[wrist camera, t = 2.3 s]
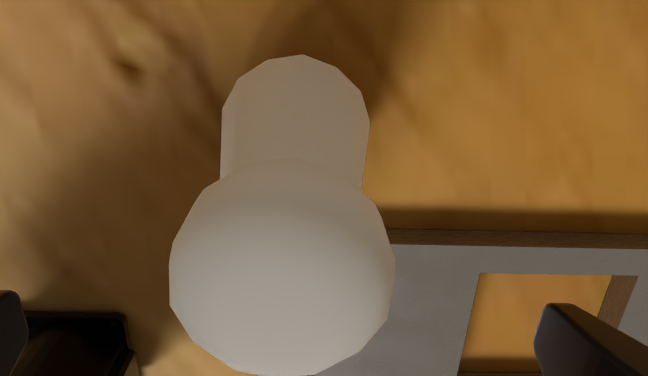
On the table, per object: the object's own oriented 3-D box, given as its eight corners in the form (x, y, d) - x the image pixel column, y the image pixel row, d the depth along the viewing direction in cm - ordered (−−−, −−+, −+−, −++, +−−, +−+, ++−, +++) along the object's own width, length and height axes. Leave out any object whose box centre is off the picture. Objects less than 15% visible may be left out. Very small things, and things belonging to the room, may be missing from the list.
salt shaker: (272, 19, 18) (203, 69, 6) (388, 94, 19) (523, 258, 7) (208, 138, 20) (56, 360, 8) (317, 198, 21) (331, 464, 9)
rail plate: (274, 390, 26) (272, 412, 24) (274, 226, 21) (272, 242, 20) (601, 391, 27) (617, 412, 26) (665, 234, 22) (689, 250, 21)
